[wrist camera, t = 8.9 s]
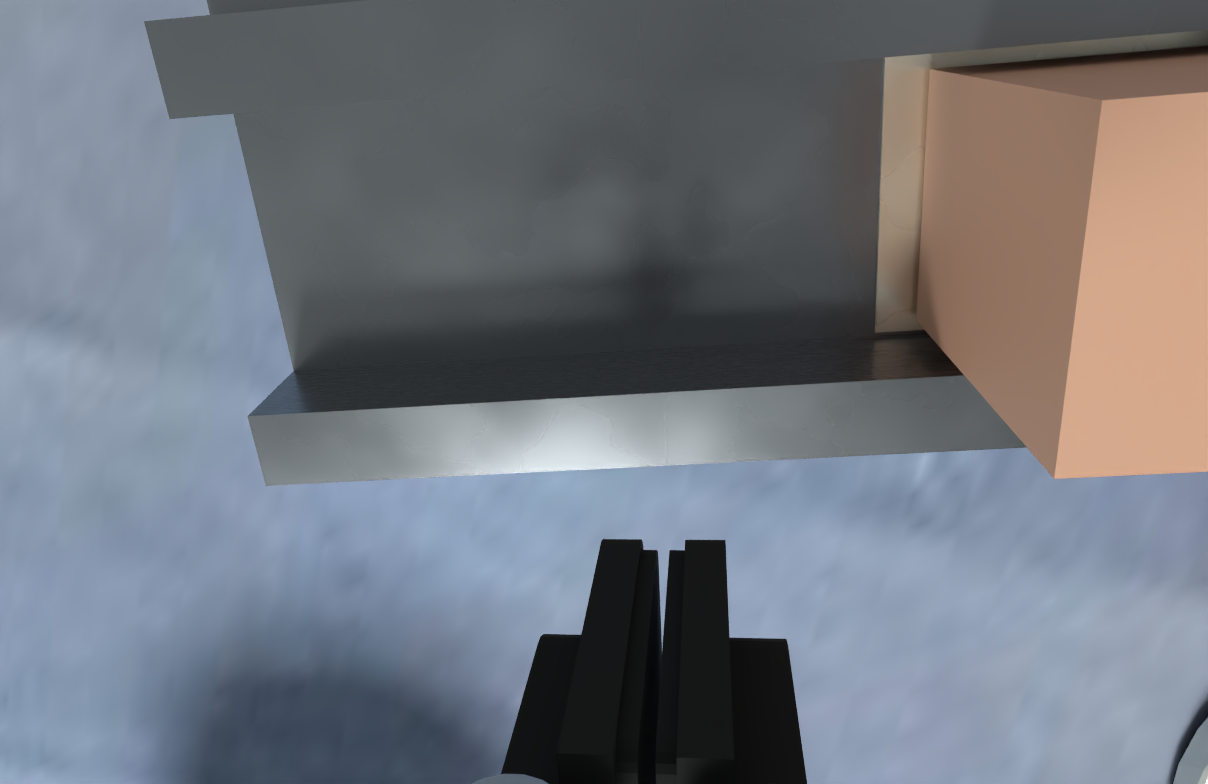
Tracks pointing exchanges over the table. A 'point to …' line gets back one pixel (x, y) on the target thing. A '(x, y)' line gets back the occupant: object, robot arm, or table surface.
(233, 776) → the table surface
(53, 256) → the table surface
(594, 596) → the robot arm
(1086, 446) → the block
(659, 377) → the chute
